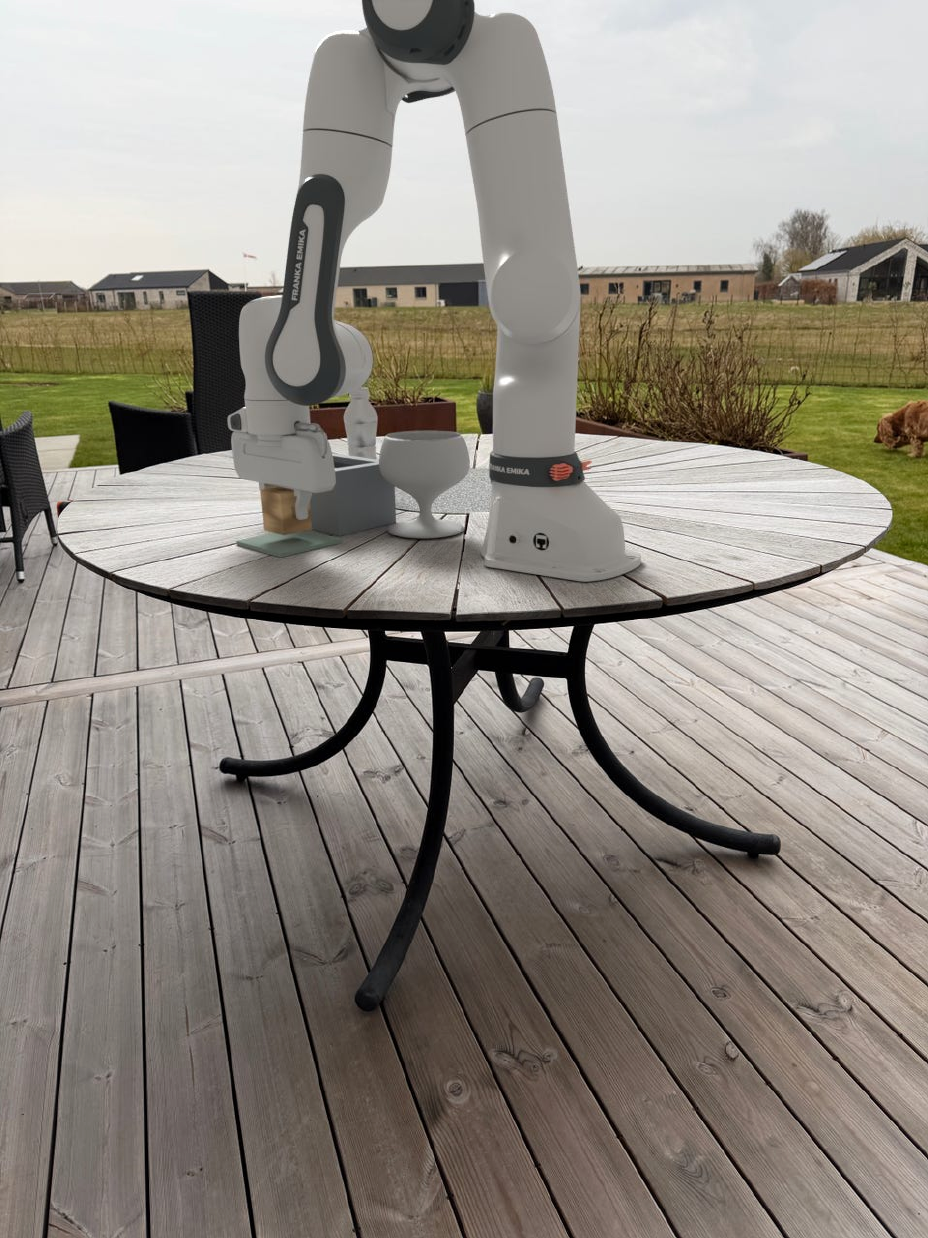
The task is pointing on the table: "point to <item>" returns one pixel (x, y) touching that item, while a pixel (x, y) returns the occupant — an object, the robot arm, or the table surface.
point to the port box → (354, 498)
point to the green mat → (288, 543)
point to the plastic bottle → (361, 425)
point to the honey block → (282, 511)
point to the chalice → (424, 475)
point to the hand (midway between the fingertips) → (287, 515)
